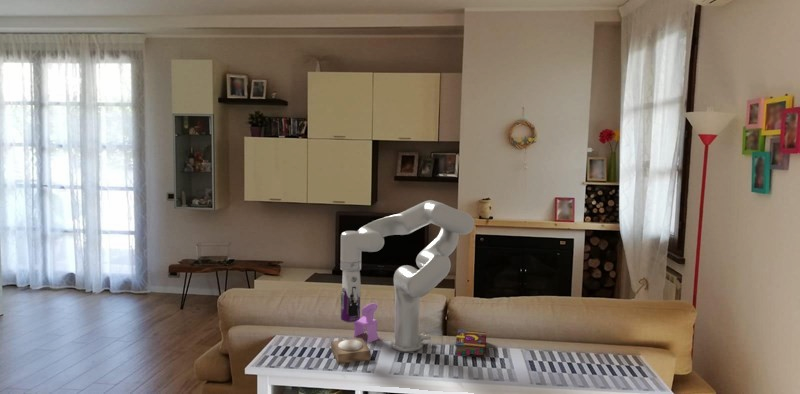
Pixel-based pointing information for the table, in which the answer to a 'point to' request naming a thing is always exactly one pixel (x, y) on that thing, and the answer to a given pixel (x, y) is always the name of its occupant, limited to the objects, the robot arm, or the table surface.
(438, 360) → the table surface
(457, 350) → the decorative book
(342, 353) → the base
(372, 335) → the toy chair
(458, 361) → the table surface
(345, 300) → the beverage can
